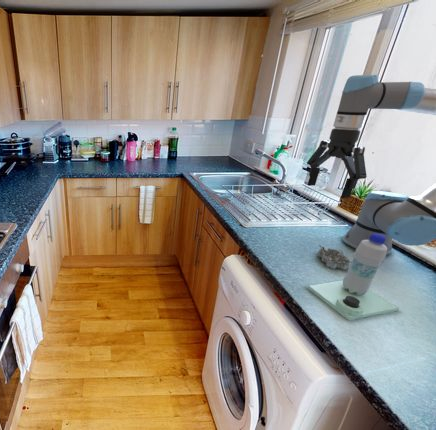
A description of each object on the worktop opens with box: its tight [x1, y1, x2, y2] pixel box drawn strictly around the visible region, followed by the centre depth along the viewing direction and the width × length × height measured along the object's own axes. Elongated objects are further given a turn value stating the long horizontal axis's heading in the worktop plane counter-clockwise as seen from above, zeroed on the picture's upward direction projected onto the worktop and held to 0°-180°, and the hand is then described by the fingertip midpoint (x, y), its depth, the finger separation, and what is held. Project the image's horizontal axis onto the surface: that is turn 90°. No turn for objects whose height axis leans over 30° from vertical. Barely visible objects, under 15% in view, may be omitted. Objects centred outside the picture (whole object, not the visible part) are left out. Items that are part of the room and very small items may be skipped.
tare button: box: [344, 296, 360, 308], centre depth 81 cm, size 3×3×2 cm
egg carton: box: [317, 244, 352, 271], centre depth 106 cm, size 11×8×4 cm
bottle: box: [342, 234, 387, 295], centre depth 85 cm, size 7×7×20 cm
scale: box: [307, 279, 400, 321], centre depth 87 cm, size 18×14×3 cm
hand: (327, 191), depth 100 cm, fingers open, 13 cm apart
